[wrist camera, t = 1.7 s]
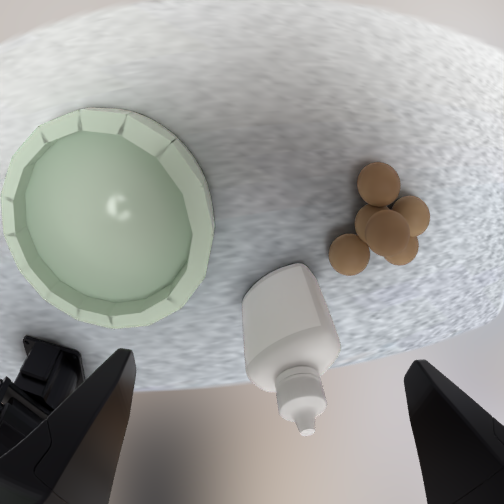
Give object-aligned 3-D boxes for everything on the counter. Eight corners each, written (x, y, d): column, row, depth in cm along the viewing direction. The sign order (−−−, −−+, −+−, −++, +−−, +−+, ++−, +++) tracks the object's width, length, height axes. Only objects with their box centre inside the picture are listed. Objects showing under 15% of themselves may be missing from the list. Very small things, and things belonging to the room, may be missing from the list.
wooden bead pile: (391, 272, 24) (418, 310, 20) (319, 258, 23) (337, 299, 18) (430, 179, 20) (470, 203, 16) (355, 151, 19) (388, 170, 15)
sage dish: (195, 323, 25) (192, 345, 23) (27, 285, 23) (14, 302, 21) (236, 127, 18) (236, 132, 16) (22, 102, 16) (2, 106, 14)
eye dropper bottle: (235, 269, 23) (240, 417, 12) (315, 258, 23) (371, 395, 12) (244, 317, 25) (253, 458, 14) (316, 306, 25) (359, 440, 14)
